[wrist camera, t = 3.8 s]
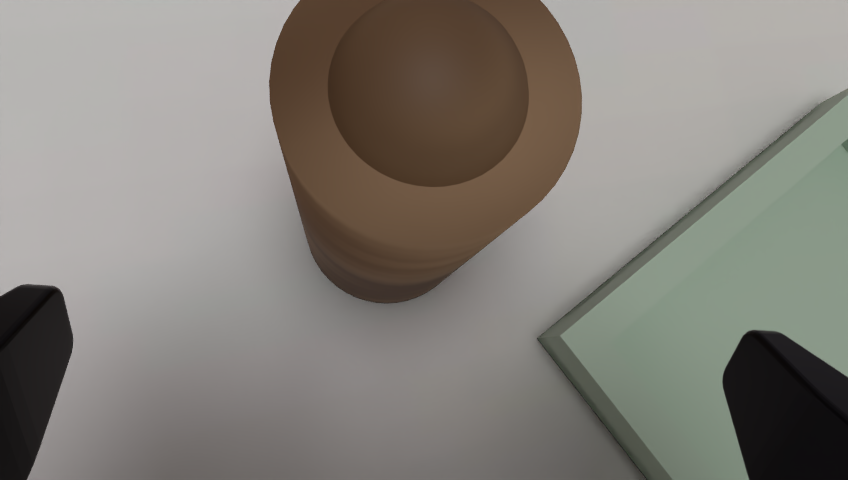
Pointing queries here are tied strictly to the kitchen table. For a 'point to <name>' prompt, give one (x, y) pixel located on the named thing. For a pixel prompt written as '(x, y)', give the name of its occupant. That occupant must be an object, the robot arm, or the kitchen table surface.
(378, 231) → the mill
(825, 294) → the tray
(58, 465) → the kitchen table surface
